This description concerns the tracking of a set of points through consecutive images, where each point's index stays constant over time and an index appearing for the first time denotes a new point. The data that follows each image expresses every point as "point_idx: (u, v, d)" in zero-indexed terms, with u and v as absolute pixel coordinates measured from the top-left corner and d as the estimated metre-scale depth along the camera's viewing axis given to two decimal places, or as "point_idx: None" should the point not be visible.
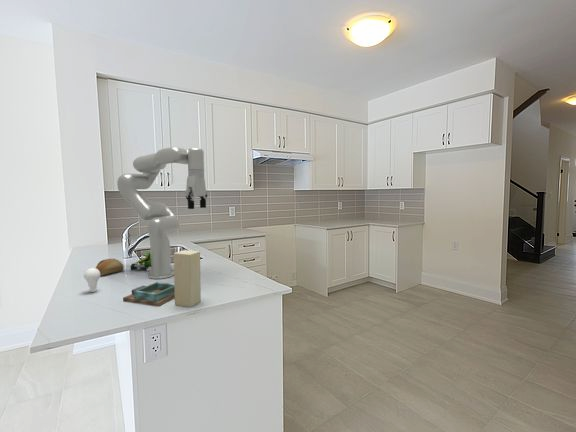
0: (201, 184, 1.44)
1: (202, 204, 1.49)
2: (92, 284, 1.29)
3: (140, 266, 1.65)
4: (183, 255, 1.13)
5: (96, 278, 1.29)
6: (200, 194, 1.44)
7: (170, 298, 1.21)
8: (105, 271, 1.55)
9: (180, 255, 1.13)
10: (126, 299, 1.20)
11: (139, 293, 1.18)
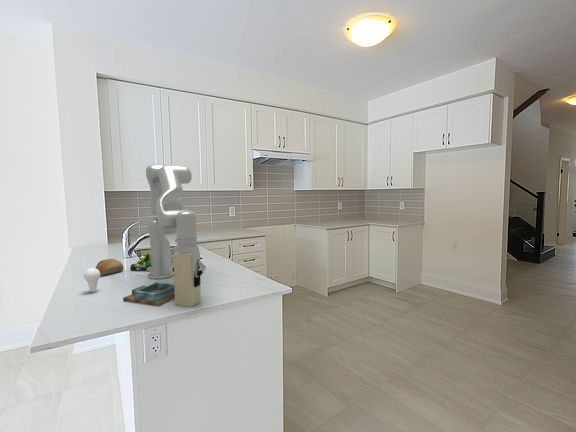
0: None
1: None
2: (92, 284, 1.29)
3: (141, 266, 1.64)
4: (183, 255, 1.13)
5: (96, 278, 1.29)
6: None
7: (170, 298, 1.21)
8: (105, 271, 1.55)
9: (180, 255, 1.13)
10: (126, 299, 1.20)
11: (139, 293, 1.18)
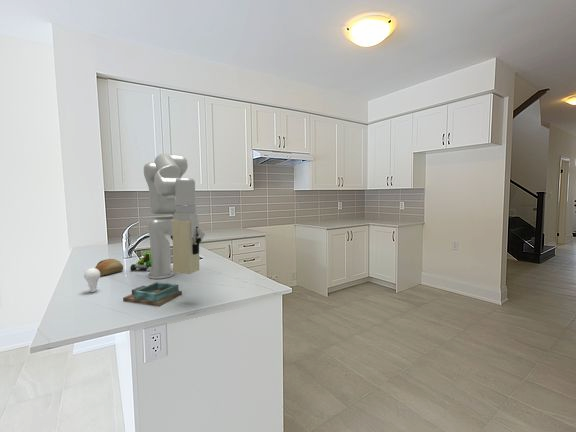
0: None
1: None
2: (92, 284, 1.29)
3: (141, 266, 1.64)
4: (182, 222, 1.12)
5: (96, 278, 1.29)
6: None
7: (170, 298, 1.21)
8: (104, 271, 1.54)
9: (179, 222, 1.12)
10: (126, 299, 1.20)
11: (139, 293, 1.18)
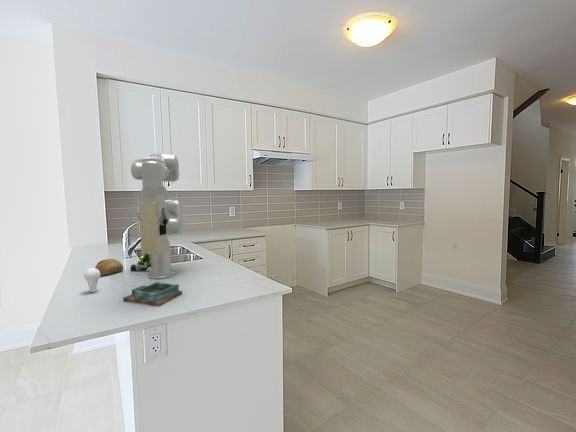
0: None
1: None
2: (92, 284, 1.29)
3: (142, 266, 1.64)
4: (148, 203, 1.16)
5: (96, 278, 1.29)
6: None
7: (170, 298, 1.21)
8: (104, 271, 1.54)
9: (145, 203, 1.17)
10: (126, 299, 1.20)
11: (139, 293, 1.18)
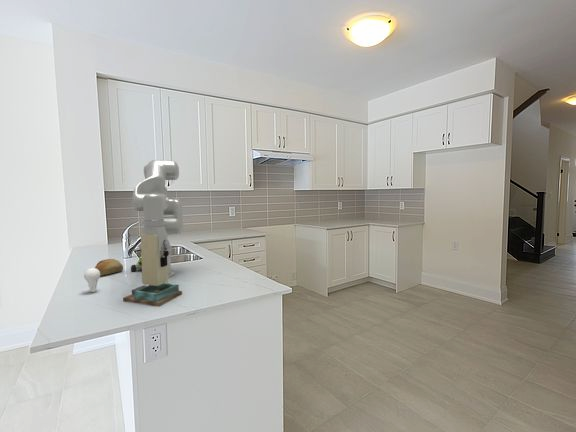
0: None
1: None
2: (92, 284, 1.29)
3: None
4: (149, 236, 1.17)
5: (96, 278, 1.29)
6: None
7: (170, 298, 1.21)
8: (104, 271, 1.54)
9: (147, 236, 1.18)
10: (126, 299, 1.20)
11: (139, 293, 1.18)
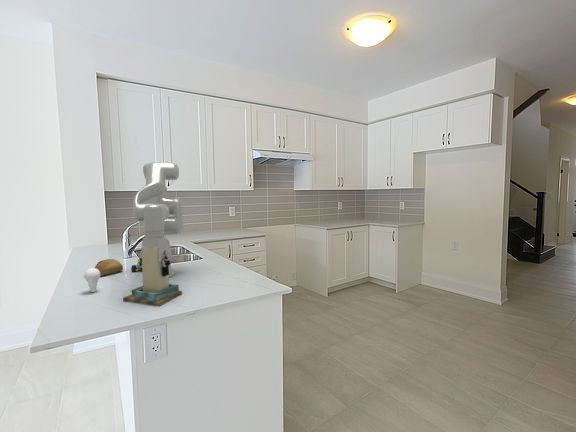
0: None
1: None
2: (92, 284, 1.29)
3: None
4: (150, 248, 1.18)
5: (96, 278, 1.29)
6: None
7: (170, 298, 1.21)
8: (104, 272, 1.54)
9: (147, 248, 1.19)
10: (126, 299, 1.20)
11: (139, 293, 1.18)
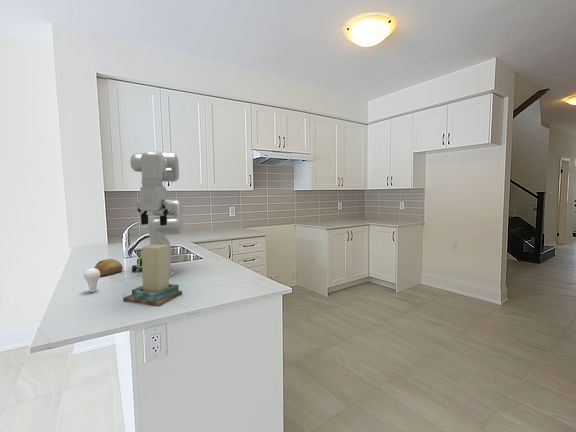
0: None
1: (145, 220, 1.22)
2: (92, 284, 1.29)
3: None
4: (150, 249, 1.18)
5: (96, 278, 1.29)
6: None
7: (170, 298, 1.21)
8: (103, 272, 1.54)
9: (148, 249, 1.18)
10: (126, 299, 1.20)
11: (139, 293, 1.18)
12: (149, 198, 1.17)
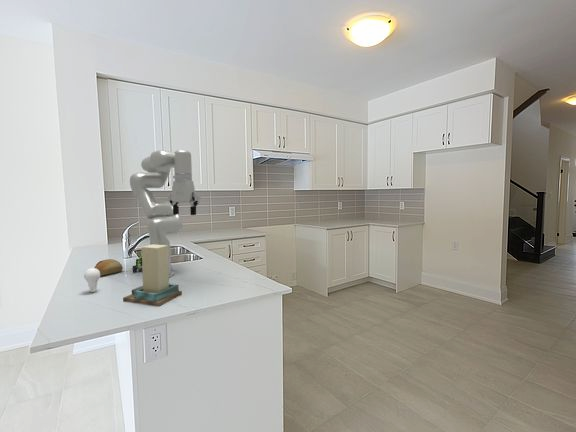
0: None
1: (176, 210, 1.37)
2: (92, 284, 1.29)
3: None
4: (150, 249, 1.18)
5: (96, 278, 1.29)
6: None
7: (170, 298, 1.21)
8: (103, 272, 1.54)
9: (148, 249, 1.18)
10: (126, 299, 1.20)
11: (139, 293, 1.18)
12: (181, 191, 1.32)
